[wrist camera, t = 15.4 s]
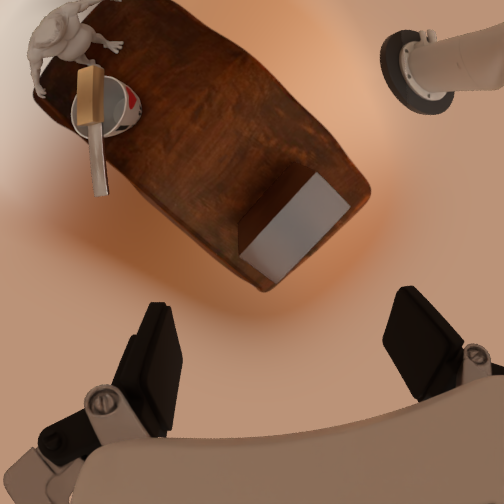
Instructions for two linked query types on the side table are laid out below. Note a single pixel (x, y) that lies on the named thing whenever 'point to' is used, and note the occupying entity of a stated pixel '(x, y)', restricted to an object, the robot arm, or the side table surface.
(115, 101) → the cup
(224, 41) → the side table surface
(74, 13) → the figurine
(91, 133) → the knife
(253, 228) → the dark rectangular block
